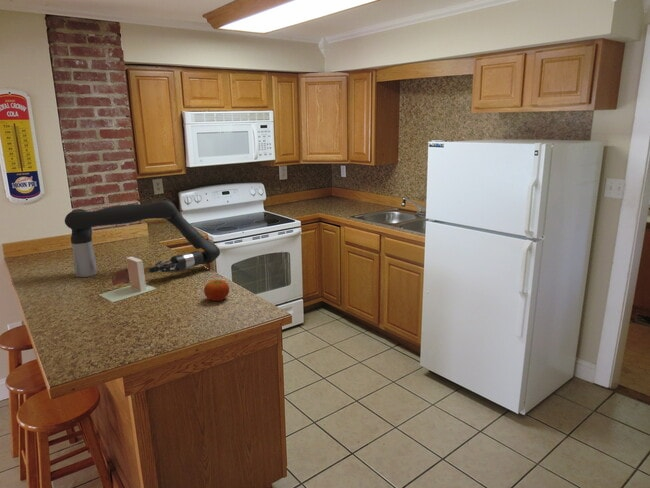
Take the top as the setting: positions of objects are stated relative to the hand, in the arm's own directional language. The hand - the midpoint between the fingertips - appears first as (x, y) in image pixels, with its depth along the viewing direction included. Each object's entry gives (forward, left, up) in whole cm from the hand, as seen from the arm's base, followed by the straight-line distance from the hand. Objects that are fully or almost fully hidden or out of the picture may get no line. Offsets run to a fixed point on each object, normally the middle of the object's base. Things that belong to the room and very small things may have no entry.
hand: (149, 270), depth 214 cm
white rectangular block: (-5, -4, -7) cm, 9 cm away
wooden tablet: (-15, +18, -8) cm, 25 cm away
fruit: (+30, -27, -8) cm, 41 cm away
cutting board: (-9, -7, -7) cm, 14 cm away
